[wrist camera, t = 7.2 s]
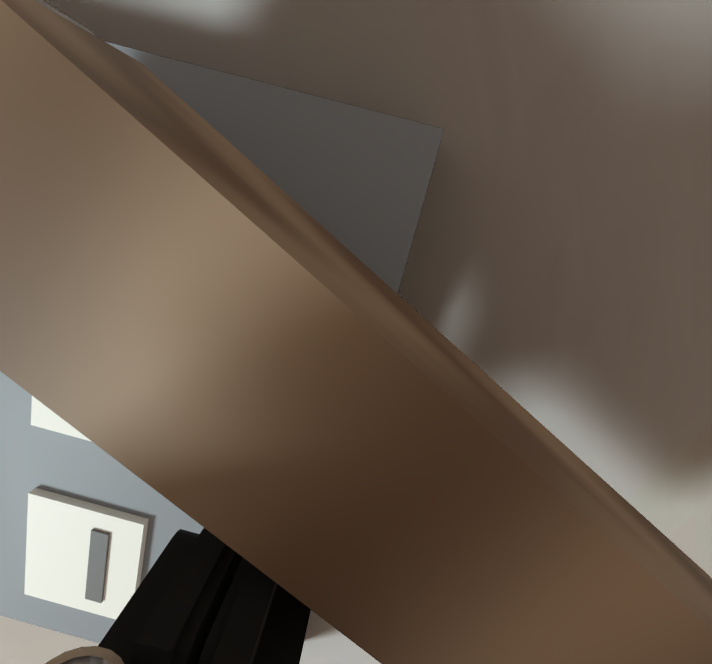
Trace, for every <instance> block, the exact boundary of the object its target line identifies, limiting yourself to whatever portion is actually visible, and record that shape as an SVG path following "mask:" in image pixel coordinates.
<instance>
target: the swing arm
mask: <svg viewBox="0 0 712 664" xmlns="http://www.w3.org/2000/svg"><path fill="white" fill-rule="evenodd" d="M0 371H1V372H2V373H3V374H5V375H6V376H7V377H9V378H10V379H11V380H12V381H14V382H15V383H16V384H18V385H19V386H20V387H22V388H23V389H24V390H25V391H27V392H28V393H29V394H31V395H32V396H33V397H35V398H36V399H37V400H39V401H40V402H41V403H42V404H44V405H45V406H46V407H48V408H49V409H50V410H52V411H53V412H54V413H55V414H57V415H58V416H59V417H61V418H62V419H63V420H65V421H66V422H67V423H68V424H70V425H71V426H72V427H74V428H75V429H76V430H78V431H79V432H80V433H82V434H83V435H84V436H85V437H87V438H88V439H89V440H91V441H92V442H93V443H95V444H96V445H97V446H98V447H100V448H101V449H102V450H104V451H105V452H106V453H108V454H109V455H110V456H112V457H113V458H114V459H115V460H117V461H118V462H119V463H121V464H122V465H123V466H125V467H126V468H127V469H128V470H130V471H131V472H132V473H134V474H135V475H136V476H138V477H139V478H140V479H141V480H143V481H144V482H145V483H147V484H148V485H149V486H151V487H152V488H153V489H155V490H156V491H157V492H158V493H160V494H161V495H162V496H164V497H165V498H166V499H168V500H169V501H170V502H171V503H173V504H174V505H175V506H177V507H178V508H179V509H181V510H182V511H183V512H185V513H186V514H187V515H188V516H190V517H191V518H192V519H194V520H195V521H196V522H198V523H199V524H200V525H201V526H203V527H204V528H205V529H207V530H208V531H209V532H211V533H212V534H213V535H214V536H216V537H217V538H218V539H220V540H221V541H222V542H224V543H225V544H226V545H228V546H229V547H230V548H231V549H233V550H234V551H235V552H237V553H238V554H239V555H241V556H242V557H243V558H244V559H246V560H247V561H248V562H250V563H251V564H252V565H254V566H255V567H256V568H258V569H259V570H260V571H261V572H263V573H264V574H265V575H267V576H268V577H269V578H271V579H272V580H273V581H274V582H276V583H277V584H278V585H280V586H281V587H282V588H284V589H285V590H286V591H287V592H289V593H290V594H291V595H293V596H294V597H295V598H297V599H298V600H299V601H301V602H302V603H303V604H304V605H306V606H307V607H308V608H310V609H311V610H312V611H314V612H315V613H316V614H317V615H319V616H320V617H321V618H323V619H324V620H325V621H327V622H328V623H329V624H331V625H332V626H333V627H334V628H336V629H337V630H338V631H340V632H341V633H342V634H344V635H345V636H346V637H347V638H349V639H350V640H351V641H353V642H354V643H355V644H357V645H358V646H359V647H360V648H362V649H363V650H364V651H366V652H367V653H368V654H370V655H371V656H372V657H374V658H375V659H376V660H377V661H379V662H380V663H381V664H712V579H711V578H710V576H709V575H708V574H707V573H706V572H705V571H704V570H702V569H701V568H700V567H699V566H698V565H697V564H696V563H695V562H694V561H692V560H691V559H690V558H689V557H688V556H687V555H686V554H685V553H684V552H682V551H681V550H680V549H679V548H678V547H677V546H676V545H675V544H674V543H673V542H671V541H670V540H669V539H668V538H667V537H666V536H665V535H664V534H663V533H661V532H660V531H659V530H658V529H657V528H656V527H655V526H654V525H653V524H651V523H650V522H649V521H648V520H647V519H646V518H645V517H644V516H643V515H642V514H640V513H639V512H638V511H637V510H636V509H635V508H634V507H633V506H632V505H630V504H629V503H628V502H627V501H626V500H625V499H624V498H623V497H622V496H621V495H619V494H618V493H617V492H616V491H615V490H614V489H613V488H612V487H611V486H609V485H608V484H607V483H606V482H605V481H604V480H603V479H602V478H601V477H599V476H598V475H597V474H596V473H595V472H594V471H593V470H592V469H591V468H590V467H588V466H587V465H586V464H585V463H584V462H583V461H582V460H581V459H580V458H578V457H577V456H576V455H575V454H574V453H573V452H572V451H571V450H570V449H568V448H567V447H566V446H565V445H564V444H563V443H562V442H561V441H560V440H559V439H557V438H556V437H555V436H554V435H553V434H552V433H551V432H550V431H549V430H547V429H546V428H545V427H544V426H543V425H542V424H541V423H540V422H539V421H537V420H536V419H535V418H534V417H533V416H532V415H531V414H530V413H529V412H528V411H526V410H525V409H524V408H523V407H522V406H521V405H520V404H519V403H518V402H516V401H515V400H514V399H513V398H512V397H511V396H510V395H509V394H508V393H507V392H505V391H504V390H503V389H502V388H501V387H500V386H499V385H498V384H497V383H495V382H494V381H493V380H492V379H491V378H490V377H489V376H488V375H487V374H485V373H484V372H483V371H482V370H481V369H480V368H479V367H478V366H477V365H476V364H474V363H473V362H472V361H471V360H470V359H469V358H468V357H467V356H466V355H464V354H463V353H462V352H461V351H460V350H459V349H458V348H457V347H456V346H454V345H453V344H452V343H451V342H450V341H449V340H448V339H447V338H446V337H445V336H443V335H442V334H441V333H440V332H439V331H438V330H437V329H436V328H435V327H433V326H432V325H431V324H430V323H429V322H428V321H427V320H426V319H425V318H424V317H422V316H421V315H420V314H419V313H418V312H417V311H416V310H415V309H414V308H412V307H411V306H410V305H409V304H408V303H407V302H406V301H405V300H404V299H402V298H401V297H400V296H399V295H398V294H397V293H396V292H395V291H394V290H393V289H391V288H390V287H389V286H388V285H387V284H386V283H385V282H384V281H383V280H381V279H380V278H379V277H378V276H377V275H376V274H375V273H374V272H373V271H371V270H370V269H369V268H368V267H367V266H366V265H365V264H364V263H363V262H362V261H360V260H359V259H358V258H357V257H356V256H355V255H354V254H353V253H352V252H350V251H349V250H348V249H347V248H346V247H345V246H344V245H343V244H342V243H340V242H339V241H338V240H337V239H336V238H335V237H334V236H333V235H332V234H331V233H329V232H328V231H327V230H326V229H325V228H324V227H323V226H322V225H321V224H319V223H318V222H317V221H316V220H315V219H314V218H313V217H312V216H311V215H310V214H308V213H307V212H306V211H305V210H304V209H303V208H302V207H301V206H300V205H298V204H297V203H296V202H295V201H294V200H293V199H292V198H291V197H290V196H288V195H287V194H286V193H285V192H284V191H283V190H282V189H281V188H280V187H279V186H277V185H276V184H275V183H274V182H273V181H272V180H271V179H270V178H269V177H267V176H266V175H265V174H264V173H263V172H262V171H261V170H260V169H259V168H257V167H256V166H255V165H254V164H253V163H252V162H251V161H250V160H249V159H248V158H246V157H245V156H244V155H243V154H242V153H241V152H240V151H239V150H238V149H236V148H235V147H234V146H233V145H232V144H231V143H230V142H229V141H228V140H227V139H225V138H224V137H223V136H222V135H221V134H220V133H219V132H218V131H217V130H215V129H214V128H213V127H212V126H211V125H210V124H209V123H208V122H207V121H205V120H204V119H203V118H202V117H201V116H200V115H199V114H198V113H197V112H196V111H194V110H193V109H192V108H191V107H190V106H189V105H188V104H187V103H186V102H184V101H183V100H182V99H181V98H180V97H179V96H178V95H177V94H176V93H174V92H173V91H172V90H171V89H170V88H169V87H168V86H167V85H166V84H165V83H163V82H162V81H161V80H160V79H159V78H158V77H157V76H156V75H155V74H153V73H152V72H151V71H150V70H149V69H148V68H147V67H146V66H145V65H143V64H142V63H140V62H139V61H137V60H135V59H134V58H132V57H130V56H128V55H127V54H125V53H123V52H122V51H120V50H118V49H116V48H115V47H113V46H111V45H110V44H108V43H106V42H105V41H103V40H101V39H99V38H98V37H97V36H96V35H95V34H94V33H92V32H91V31H90V30H89V29H87V28H86V27H84V26H83V25H81V24H79V23H78V22H76V21H75V20H73V19H71V18H70V17H68V16H66V15H64V14H63V13H61V12H59V11H58V10H56V9H54V8H53V7H51V6H49V5H48V4H46V3H44V2H43V1H41V0H0Z"/></svg>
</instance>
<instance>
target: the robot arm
mask: <svg viewBox="0 0 712 664" xmlns="http://www.w3.org/2000/svg"><path fill="white" fill-rule="evenodd" d="M310 610H311V609H310V608H308V607H307V606H306V605H304V604H303V603H302V602H301V601H299V600H298V599H297V598H295V597H294V596H293V595H291V594H290V593H289V592H287V591H286V590H285V589H284V588H282V587H281V586H280V585H278V584H277V583H276V582H274V581H273V580H272V579H271V578H269V577H268V576H267V575H265V574H264V573H263V572H261V571H260V570H259V569H258V568H256V567H255V566H254V565H252V564H251V563H250V562H248V561H247V560H246V559H244V558H243V557H242V556H241V555H239V554H238V553H237V552H235V551H234V550H233V549H231V548H230V547H229V546H228V545H226V544H225V543H224V542H222V541H221V540H220V539H218V538H217V537H216V536H214V535H213V534H212V533H211V532H209V531H208V530H207V529H205V528H203V530H202V531H201V533H200V534H197V533H194V532H190V531H186V530H182V529H180V530H178V531H177V532H176V533H175V535H174V536H173V537H172V539H171V540H170V541H169V543H168V544H167V546H166V547H165V549H164V550H163V552H162V553H161V555H160V556H159V558H158V559H157V560H156V562H155V563H154V565H153V566H152V568H151V569H150V571H149V572H148V574H147V575H146V577H145V578H144V579H143V581H142V582H141V584H140V585H139V587H138V588H137V590H136V591H135V593H134V594H133V596H132V597H131V599H130V600H129V601H128V603H127V604H126V606H125V607H124V609H123V610H122V612H121V613H120V615H119V616H118V618H117V619H116V620H115V622H114V623H113V625H112V626H111V628H110V629H109V631H108V632H107V634H106V635H105V637H104V638H103V639H102V641H101V642H100V644H99V645H98V646H91V647H80V648H77V649H73V650H70V651H67V652H64V653H62V654H61V655H59V656H57V657H55V658H53V659H52V660H50V661H48V662H47V663H46V664H299V662H300V657H301V653H302V648H303V643H304V638H305V634H306V629H307V624H308V620H309V615H310Z"/></svg>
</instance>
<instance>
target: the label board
mask: <svg viewBox="0 0 712 664" xmlns="http://www.w3.org/2000/svg"><path fill="white" fill-rule="evenodd" d="M106 43H108V44H110V45H111V46H113V47H115V48H116V49H118V50H120V51H122V52H123V53H125V54H127V55H128V56H130V57H132V58H134V59H135V60H137V61H139V62H140V63H142V64H143V65H145V66H146V67H147V68H148V69H149V70H150V71H151V72H152V73H153V74H155V75H156V76H157V77H158V78H159V79H160V80H161V81H162V82H163V83H165V84H166V85H167V86H168V87H169V88H170V89H171V90H172V91H173V92H174V93H176V94H177V95H178V96H179V97H180V98H181V99H182V100H183V101H184V102H186V103H187V104H188V105H189V106H190V107H191V108H192V109H193V110H194V111H196V112H197V113H198V114H199V115H200V116H201V117H202V118H203V119H204V120H205V121H207V122H208V123H209V124H210V125H211V126H212V127H213V128H214V129H215V130H217V131H218V132H219V133H220V134H221V135H222V136H223V137H224V138H225V139H227V140H228V141H229V142H230V143H231V144H232V145H233V146H234V147H235V148H236V149H238V150H239V151H240V152H241V153H242V154H243V155H244V156H245V157H246V158H248V159H249V160H250V161H251V162H252V163H253V164H254V165H255V166H256V167H257V168H259V169H260V170H261V171H262V172H263V173H264V174H265V175H266V176H267V177H269V178H270V179H271V180H272V181H273V182H274V183H275V184H276V185H277V186H279V187H280V188H281V189H282V190H283V191H284V192H285V193H286V194H287V195H288V196H290V197H291V198H292V199H293V200H294V201H295V202H296V203H297V204H298V205H300V206H301V207H302V208H303V209H304V210H305V211H306V212H307V213H308V214H310V215H311V216H312V217H313V218H314V219H315V220H316V221H317V222H318V223H319V224H321V225H322V226H323V227H324V228H325V229H326V230H327V231H328V232H329V233H331V234H332V235H333V236H334V237H335V238H336V239H337V240H338V241H339V242H340V243H342V244H343V245H344V246H345V247H346V248H347V249H348V250H349V251H350V252H352V253H353V254H354V255H355V256H356V257H357V258H358V259H359V260H360V261H362V262H363V263H364V264H365V265H366V266H367V267H368V268H369V269H370V270H371V271H373V272H374V273H375V274H376V275H377V276H378V277H379V278H380V279H381V280H383V281H384V282H385V283H386V284H387V285H388V286H389V287H390V288H391V289H393V290H394V291H395V292H396V293H397V294H398V291H399V287H400V284H401V280H402V277H403V273H404V270H405V266H406V263H407V259H408V256H409V252H410V248H411V245H412V241H413V238H414V234H415V231H416V227H417V224H418V220H419V217H420V213H421V210H422V206H423V202H424V199H425V195H426V192H427V188H428V185H429V181H430V178H431V174H432V171H433V167H434V164H435V160H436V156H437V153H438V149H439V146H440V142H441V139H442V135H443V132H444V129H443V128H439V127H435V126H431V125H427V124H423V123H420V122H416V121H412V120H408V119H404V118H400V117H396V116H392V115H389V114H385V113H381V112H377V111H373V110H369V109H365V108H361V107H357V106H354V105H350V104H346V103H342V102H338V101H334V100H330V99H326V98H322V97H319V96H315V95H311V94H307V93H303V92H299V91H295V90H291V89H287V88H284V87H280V86H276V85H272V84H268V83H264V82H260V81H256V80H253V79H249V78H245V77H241V76H237V75H233V74H229V73H225V72H221V71H218V70H214V69H210V68H206V67H202V66H198V65H194V64H190V63H186V62H183V61H179V60H175V59H171V58H167V57H163V56H159V55H155V54H151V53H148V52H144V51H140V50H136V49H132V48H128V47H124V46H120V45H117V44H113V43H109V42H106ZM203 528H204V527H203V526H201V525H200V524H199V523H198V522H196V521H195V520H194V519H192V518H191V517H190V516H188V515H187V514H186V513H185V512H183V511H182V510H181V509H179V508H178V507H177V506H175V505H174V504H173V503H171V502H170V501H169V500H168V499H166V498H165V497H164V496H162V495H161V494H160V493H158V492H157V491H156V490H155V489H153V488H152V487H151V486H149V485H148V484H147V483H145V482H144V481H143V480H141V479H140V478H139V477H138V476H136V475H135V474H134V473H132V472H131V471H130V470H128V469H127V468H126V467H125V466H123V465H122V464H121V463H119V462H118V461H117V460H115V459H114V458H113V457H112V456H110V455H109V454H108V453H106V452H105V451H104V450H102V449H101V448H100V447H98V446H97V445H96V444H95V443H93V442H92V441H91V440H89V439H88V438H87V437H85V436H84V435H83V434H82V433H80V432H79V431H78V430H76V429H75V428H74V427H72V426H71V425H70V424H68V423H67V422H66V421H65V420H63V419H62V418H61V417H59V416H58V415H57V414H55V413H54V412H53V411H52V410H50V409H49V408H48V407H46V406H45V405H44V404H42V403H41V402H40V401H39V400H37V399H36V398H35V397H33V396H32V395H31V394H29V393H28V392H27V391H25V390H24V389H23V388H22V387H20V386H19V385H18V384H16V383H15V382H14V381H12V380H11V379H10V378H9V377H7V376H6V375H5V374H3V373H2V372H1V371H0V615H1V616H4V617H8V618H11V619H15V620H18V621H22V622H26V623H29V624H33V625H36V626H40V627H43V628H47V629H51V630H54V631H58V632H61V633H65V634H68V635H72V636H76V637H79V638H83V639H86V640H90V641H93V642H97V643H100V642H101V641H102V639H103V638H104V637H105V635H106V634H107V632H108V631H109V629H110V628H111V626H112V625H113V623H114V622H115V620H116V619H117V618H118V616H119V615H120V613H121V612H122V610H123V609H124V607H125V606H126V604H127V603H128V601H129V600H130V599H131V597H132V596H133V594H134V593H135V591H136V590H137V588H138V587H139V585H140V584H141V582H142V581H143V579H144V578H145V577H146V575H147V574H148V572H149V571H150V569H151V568H152V566H153V565H154V563H155V562H156V560H157V559H158V558H159V556H160V555H161V553H162V552H163V550H164V549H165V547H166V546H167V544H168V543H169V541H170V540H171V539H172V537H173V536H174V535H175V533H176V532H177V531H178V530H180V529H182V530H186V531H190V532H194V533H197V534H200V533H201V531H202V530H203Z"/></svg>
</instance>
